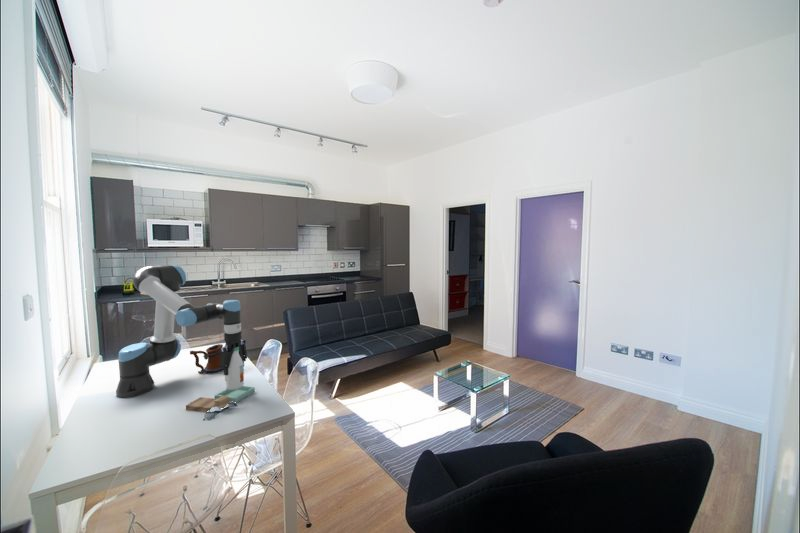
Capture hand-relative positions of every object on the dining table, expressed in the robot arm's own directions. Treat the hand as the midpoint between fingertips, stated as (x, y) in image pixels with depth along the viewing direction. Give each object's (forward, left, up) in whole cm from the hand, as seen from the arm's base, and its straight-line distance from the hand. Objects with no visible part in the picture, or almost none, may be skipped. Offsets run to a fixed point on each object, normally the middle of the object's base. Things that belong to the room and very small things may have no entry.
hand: (234, 377), depth 156 cm
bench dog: (+4, -12, -9) cm, 16 cm away
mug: (-39, +21, -10) cm, 45 cm away
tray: (0, 0, -9) cm, 9 cm away
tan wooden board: (-5, -12, -10) cm, 16 cm away
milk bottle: (0, 0, -5) cm, 5 cm away
